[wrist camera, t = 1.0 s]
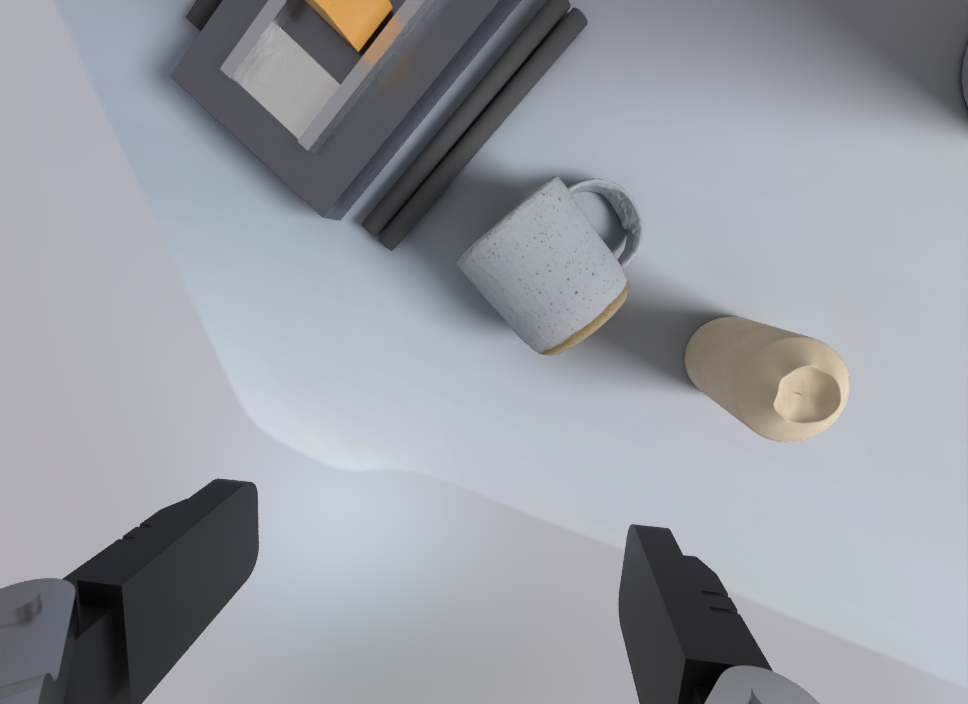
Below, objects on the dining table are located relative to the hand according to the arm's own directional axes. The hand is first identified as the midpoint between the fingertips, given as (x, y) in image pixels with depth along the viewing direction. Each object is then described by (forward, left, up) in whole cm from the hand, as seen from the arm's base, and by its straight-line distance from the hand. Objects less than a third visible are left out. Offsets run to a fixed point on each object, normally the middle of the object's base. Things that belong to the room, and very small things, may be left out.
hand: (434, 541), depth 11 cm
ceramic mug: (-7, -1, -25) cm, 26 cm away
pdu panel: (-9, -19, -25) cm, 32 cm away
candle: (-10, +12, -25) cm, 29 cm away
